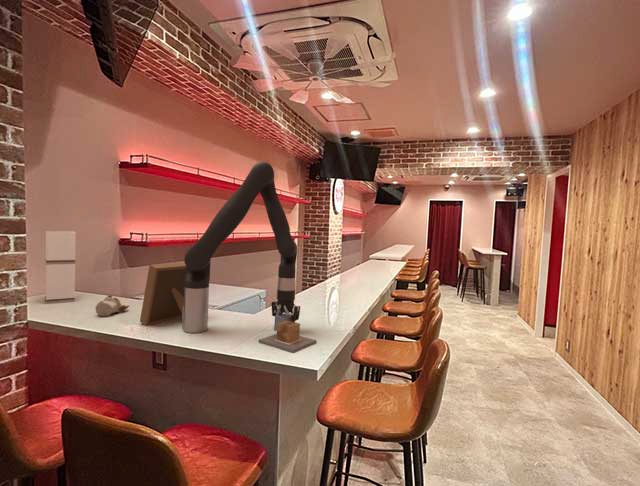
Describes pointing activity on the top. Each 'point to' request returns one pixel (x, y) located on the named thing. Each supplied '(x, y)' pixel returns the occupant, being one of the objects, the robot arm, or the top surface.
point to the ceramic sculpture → (109, 306)
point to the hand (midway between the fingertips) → (284, 328)
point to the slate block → (280, 320)
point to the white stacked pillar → (60, 267)
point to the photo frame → (163, 293)
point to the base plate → (289, 347)
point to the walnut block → (288, 331)
